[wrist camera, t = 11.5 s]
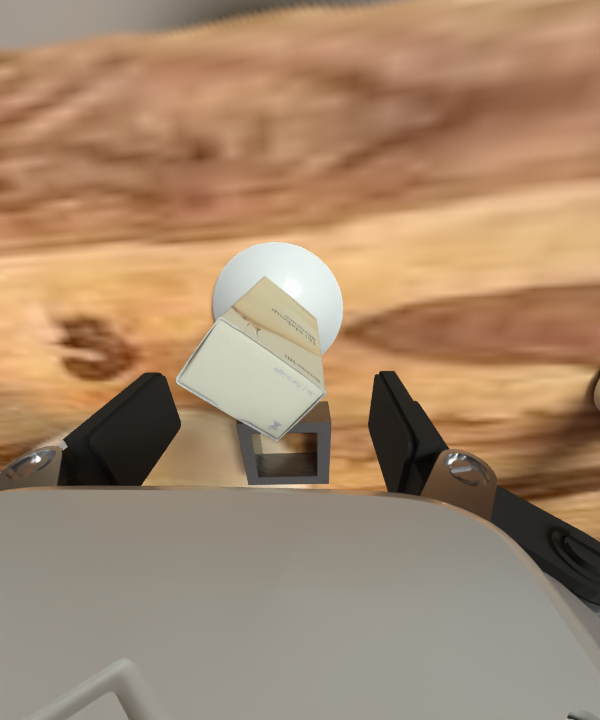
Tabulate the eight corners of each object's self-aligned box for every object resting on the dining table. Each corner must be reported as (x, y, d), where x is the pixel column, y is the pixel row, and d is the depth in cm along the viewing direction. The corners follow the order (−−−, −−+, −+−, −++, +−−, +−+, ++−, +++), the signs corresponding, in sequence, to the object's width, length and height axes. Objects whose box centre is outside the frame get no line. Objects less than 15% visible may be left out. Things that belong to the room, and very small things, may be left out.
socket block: (327, 401, 28) (331, 422, 25) (325, 460, 32) (328, 483, 29) (243, 403, 28) (236, 424, 25) (253, 461, 33) (248, 484, 30)
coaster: (344, 239, 20) (347, 239, 19) (338, 364, 26) (339, 368, 25) (203, 244, 20) (199, 244, 19) (227, 366, 26) (225, 371, 25)
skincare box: (317, 317, 22) (335, 393, 11) (288, 351, 24) (279, 446, 13) (262, 273, 20) (220, 312, 9) (234, 312, 22) (171, 384, 11)
